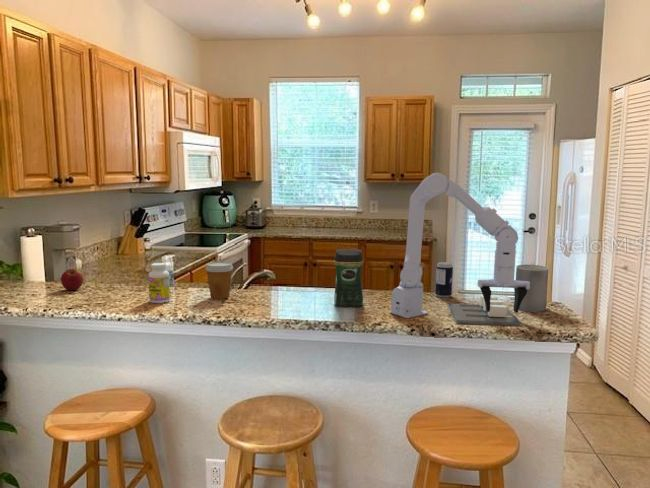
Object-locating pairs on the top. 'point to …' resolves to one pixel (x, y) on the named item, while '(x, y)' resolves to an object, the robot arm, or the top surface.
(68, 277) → the apple
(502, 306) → the handle
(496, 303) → the handle middle
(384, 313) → the top surface
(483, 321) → the breaker panel
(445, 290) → the beverage can
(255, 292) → the top surface
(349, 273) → the coffee jar
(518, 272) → the pillar candle
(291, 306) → the top surface
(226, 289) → the disposable coffee cup
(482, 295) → the handle far
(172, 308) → the top surface
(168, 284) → the supplement bottle
